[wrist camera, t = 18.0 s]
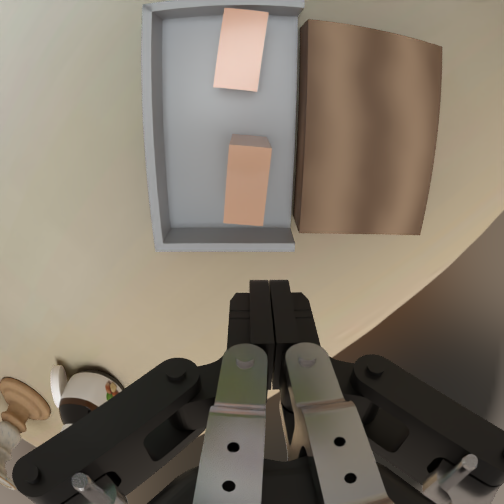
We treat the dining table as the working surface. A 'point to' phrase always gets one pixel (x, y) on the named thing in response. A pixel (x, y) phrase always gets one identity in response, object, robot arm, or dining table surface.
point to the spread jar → (81, 392)
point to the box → (214, 124)
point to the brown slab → (365, 129)
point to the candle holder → (17, 419)
